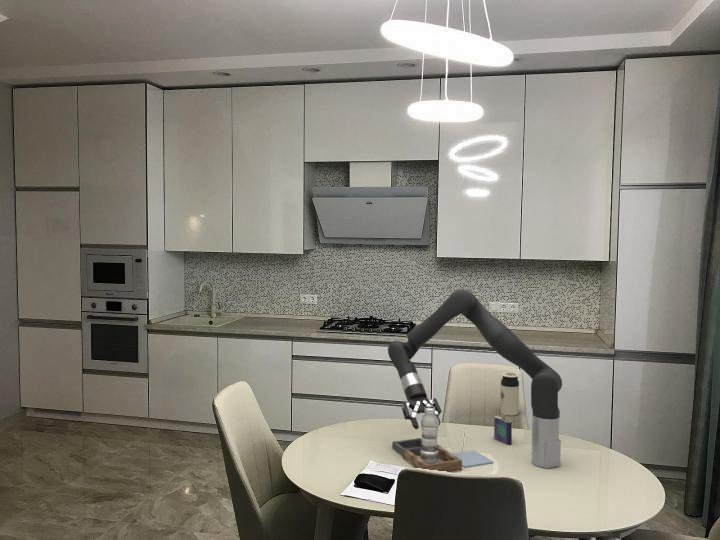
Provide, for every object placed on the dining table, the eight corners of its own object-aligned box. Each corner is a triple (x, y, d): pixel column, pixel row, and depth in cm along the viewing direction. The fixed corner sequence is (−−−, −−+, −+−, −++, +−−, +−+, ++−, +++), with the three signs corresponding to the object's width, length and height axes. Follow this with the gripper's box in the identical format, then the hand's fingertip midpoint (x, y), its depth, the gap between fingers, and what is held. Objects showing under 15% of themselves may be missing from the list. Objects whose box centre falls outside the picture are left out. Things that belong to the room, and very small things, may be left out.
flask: (492, 438, 244) (492, 412, 244) (498, 437, 246) (498, 411, 245) (508, 445, 236) (508, 418, 235) (513, 444, 237) (514, 417, 237)
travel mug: (516, 411, 282) (517, 372, 280) (519, 416, 274) (520, 376, 273) (499, 410, 282) (500, 372, 281) (501, 415, 274) (502, 376, 273)
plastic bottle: (426, 457, 223) (426, 403, 221) (442, 462, 218) (442, 407, 217) (416, 462, 218) (416, 407, 216) (432, 467, 213) (432, 411, 212)
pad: (493, 463, 218) (493, 461, 218) (464, 467, 213) (464, 466, 213) (474, 451, 229) (474, 450, 229) (446, 456, 224) (446, 454, 224)
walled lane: (461, 470, 211) (461, 460, 211) (426, 476, 206) (426, 466, 205) (436, 453, 227) (436, 444, 227) (402, 458, 222) (402, 449, 222)
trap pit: (432, 452, 228) (432, 446, 227) (404, 457, 223) (404, 450, 223) (420, 444, 237) (420, 437, 237) (392, 448, 232) (392, 441, 232)
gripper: (399, 384, 223) (413, 424, 213) (433, 380, 228) (449, 419, 219) (393, 395, 228) (406, 434, 218) (426, 391, 234) (441, 429, 224)
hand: (427, 427), depth 218 cm, fingers open, 8 cm apart
